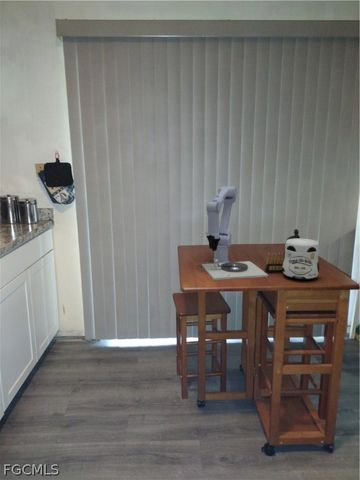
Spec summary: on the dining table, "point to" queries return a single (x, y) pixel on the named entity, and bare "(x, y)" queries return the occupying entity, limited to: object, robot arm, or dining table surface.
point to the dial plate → (222, 275)
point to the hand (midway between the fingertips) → (213, 249)
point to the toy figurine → (294, 235)
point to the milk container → (301, 259)
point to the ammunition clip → (274, 263)
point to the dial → (231, 266)
